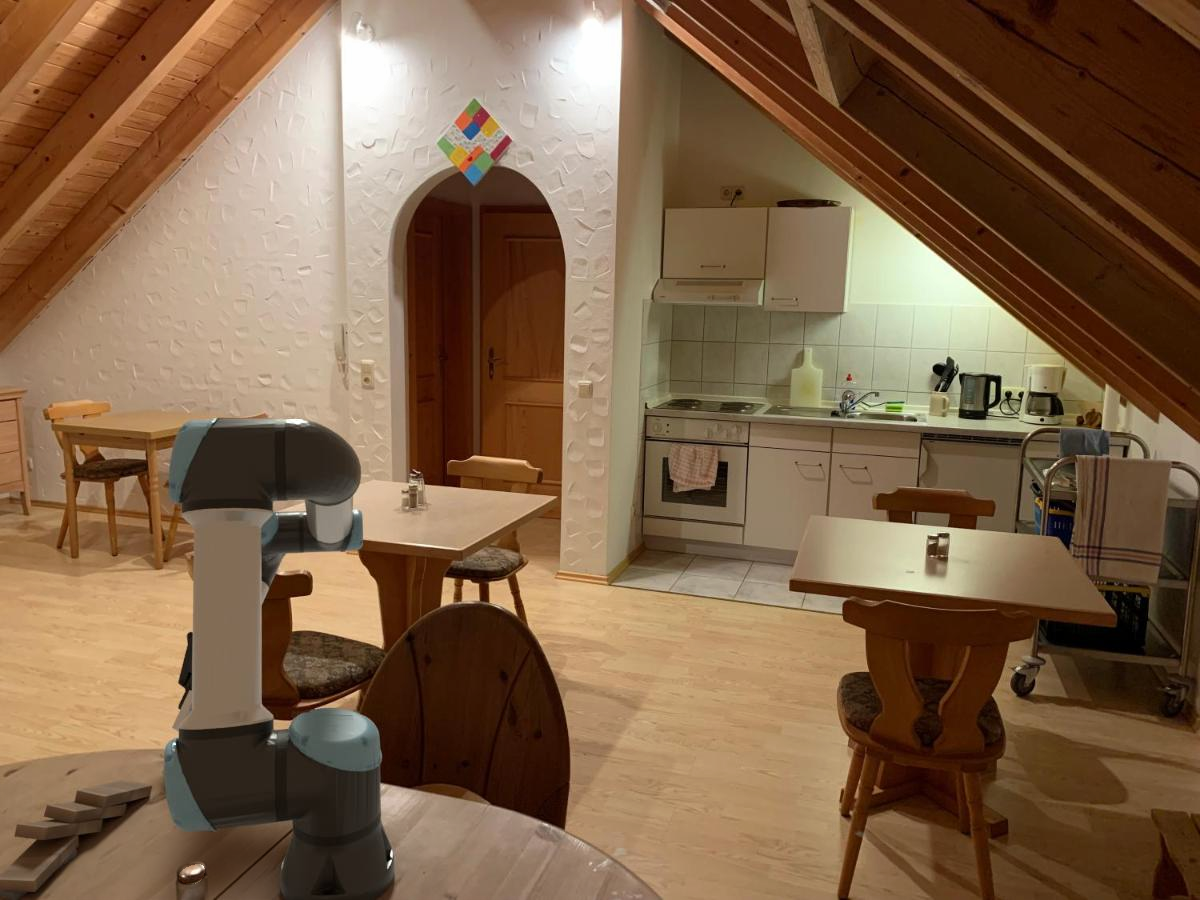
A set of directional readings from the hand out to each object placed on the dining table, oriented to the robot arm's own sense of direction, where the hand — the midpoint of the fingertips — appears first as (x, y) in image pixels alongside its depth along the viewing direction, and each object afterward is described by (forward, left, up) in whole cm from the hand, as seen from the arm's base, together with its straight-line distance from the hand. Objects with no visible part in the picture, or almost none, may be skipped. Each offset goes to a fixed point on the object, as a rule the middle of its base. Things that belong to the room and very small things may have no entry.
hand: (180, 730), depth 151 cm
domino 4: (-6, +14, -5) cm, 16 cm away
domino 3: (-11, +22, -6) cm, 26 cm away
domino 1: (-8, +18, -5) cm, 20 cm away
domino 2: (-11, +22, -4) cm, 25 cm away
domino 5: (-3, +9, -5) cm, 11 cm away
